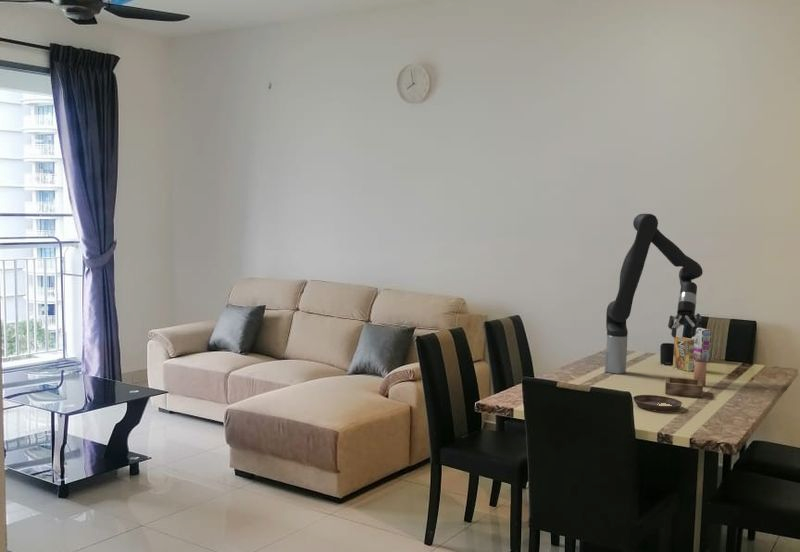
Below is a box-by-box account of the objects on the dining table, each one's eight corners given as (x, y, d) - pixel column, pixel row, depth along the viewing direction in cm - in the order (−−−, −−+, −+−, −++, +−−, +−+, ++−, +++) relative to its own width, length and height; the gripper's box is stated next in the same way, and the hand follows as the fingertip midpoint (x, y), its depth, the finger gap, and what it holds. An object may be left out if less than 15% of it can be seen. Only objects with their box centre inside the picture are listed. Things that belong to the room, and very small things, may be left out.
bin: (665, 394, 308) (665, 383, 308) (665, 387, 322) (665, 376, 321) (702, 398, 304) (702, 386, 304) (700, 390, 317) (701, 379, 317)
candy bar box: (710, 362, 386) (711, 330, 385) (700, 362, 386) (702, 330, 384) (699, 358, 397) (700, 327, 396) (690, 358, 397) (691, 327, 396)
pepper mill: (693, 385, 327) (695, 358, 326) (693, 383, 331) (694, 356, 331) (705, 387, 325) (707, 359, 324) (705, 384, 330) (706, 357, 329)
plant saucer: (678, 404, 293) (678, 396, 293) (684, 415, 276) (685, 407, 276) (630, 400, 297) (631, 393, 297) (634, 411, 280) (634, 403, 280)
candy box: (693, 370, 362) (695, 338, 361) (688, 371, 359) (689, 339, 358) (677, 367, 369) (679, 336, 368) (672, 368, 367) (673, 336, 366)
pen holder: (655, 363, 379) (656, 343, 378) (669, 362, 383) (670, 342, 382) (669, 366, 370) (670, 346, 370) (683, 365, 374) (684, 345, 374)
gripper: (668, 301, 347) (664, 334, 340) (698, 299, 337) (695, 332, 330) (675, 308, 351) (671, 340, 345) (705, 306, 341) (702, 339, 335)
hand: (683, 336), depth 338 cm, fingers open, 8 cm apart
